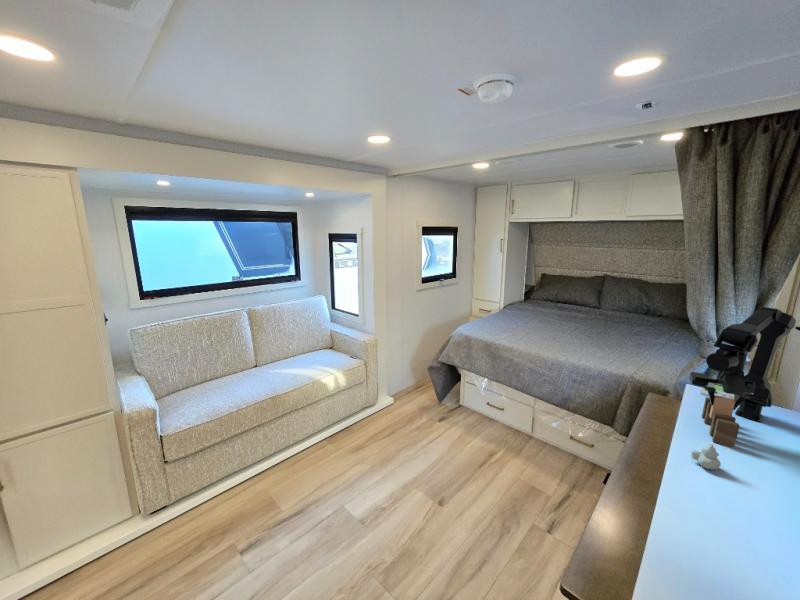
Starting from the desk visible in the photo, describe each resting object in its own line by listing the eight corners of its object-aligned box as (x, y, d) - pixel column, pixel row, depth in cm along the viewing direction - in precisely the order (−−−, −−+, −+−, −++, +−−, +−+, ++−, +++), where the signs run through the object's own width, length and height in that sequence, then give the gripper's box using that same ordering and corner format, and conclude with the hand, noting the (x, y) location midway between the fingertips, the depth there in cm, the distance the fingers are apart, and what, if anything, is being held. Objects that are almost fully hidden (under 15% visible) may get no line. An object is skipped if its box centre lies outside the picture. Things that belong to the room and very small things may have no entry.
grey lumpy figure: (719, 476, 93) (724, 452, 91) (688, 465, 98) (693, 441, 96) (719, 466, 97) (724, 442, 95) (689, 455, 101) (694, 433, 100)
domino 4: (709, 433, 112) (713, 412, 110) (729, 438, 109) (734, 417, 108) (710, 435, 111) (715, 414, 109) (730, 440, 108) (735, 419, 106)
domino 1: (701, 416, 122) (705, 397, 120) (719, 420, 119) (724, 400, 117) (702, 418, 120) (706, 398, 119) (720, 422, 118) (725, 402, 116)
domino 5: (712, 439, 109) (717, 418, 107) (732, 444, 106) (738, 423, 104) (713, 442, 107) (718, 420, 106) (734, 447, 105) (739, 425, 103)
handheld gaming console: (699, 391, 137) (709, 381, 146) (699, 394, 138) (708, 384, 146) (732, 401, 129) (740, 389, 138) (732, 404, 130) (740, 393, 138)
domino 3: (709, 415, 114) (713, 395, 112) (729, 420, 112) (733, 398, 110) (710, 418, 113) (715, 397, 111) (730, 422, 110) (735, 401, 108)
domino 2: (703, 421, 119) (708, 401, 117) (722, 426, 116) (727, 405, 114) (705, 423, 117) (709, 403, 115) (723, 428, 115) (728, 407, 113)
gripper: (699, 367, 106) (691, 410, 110) (783, 381, 96) (771, 427, 100) (693, 356, 115) (685, 396, 119) (768, 367, 105) (757, 410, 109)
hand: (722, 407), depth 111 cm, fingers closed on domino 3, 5 cm apart
